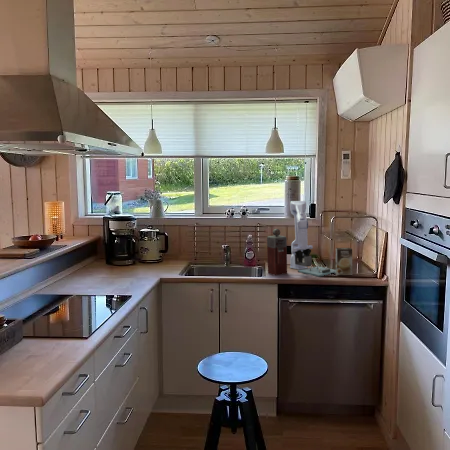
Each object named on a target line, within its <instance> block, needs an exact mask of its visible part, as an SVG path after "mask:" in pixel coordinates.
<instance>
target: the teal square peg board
mask: <svg viewBox="0 0 450 450" xmlns="http://www.w3.org/2000/svg"><path fill="white" fill-rule="evenodd" d="M297 272H298V273H301V274H305V275H311V276H314V277H325V276H328V274H329V275H332V274H331V273H334V274H336V269H332V268H329V267H328V266H325V267H322V266H319V264H316V266H315V267H314V266H313V267H312V266H309V267H308V268H305V269H300V270H299V269H297ZM324 275H325V276H324Z"/></svg>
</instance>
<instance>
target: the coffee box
mask: <svg viewBox="0 0 450 450" xmlns="http://www.w3.org/2000/svg"><path fill="white" fill-rule="evenodd" d="M335 270H336V273H335V276H337V275H352V276H353V248H351V247H335Z"/></svg>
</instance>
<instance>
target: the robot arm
mask: <svg viewBox="0 0 450 450" xmlns="http://www.w3.org/2000/svg"><path fill="white" fill-rule="evenodd" d="M289 207H290V208H289V209H290V214H291V215H292V216H293V217H294V234H295V235H294V236H295V238H294V240H293V241H292V242H291V244H290V245H291V246H290V247H291V256H290V259H289V260H290V261H289V262H290V263H289V265H290V266H289V268H290V269H295V270H303V269H308V268H309V266H307V267H306V266H301V265H297V264H295V254H296V255H297V258H298V261H299V262H300V263H302V256H303V254H304V255H310V254H311V252H312V250H313V248H314V247H313V246H314V245H312V244H311V245H308V244H309V243H308V242H309V241H308V230H309V220H308V219H307V216H306V210H307V201H306V200H291V201H290V203H289Z"/></svg>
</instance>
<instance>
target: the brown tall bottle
mask: <svg viewBox="0 0 450 450" xmlns="http://www.w3.org/2000/svg"><path fill="white" fill-rule="evenodd" d="M287 239H288V238H287V237H286V236H285V235H281V230H280V229H279V228H275V229H273V230H272V235H267V237H266V246H267V247H266V249H267V252H266V253H267V273H268V274H270V275H273V276H280V275H286V274H288V252H287V251H288V250H287V248H288V247H287V244H288V243H287Z"/></svg>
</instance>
